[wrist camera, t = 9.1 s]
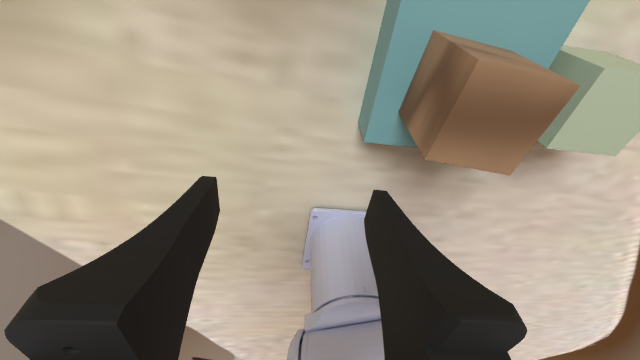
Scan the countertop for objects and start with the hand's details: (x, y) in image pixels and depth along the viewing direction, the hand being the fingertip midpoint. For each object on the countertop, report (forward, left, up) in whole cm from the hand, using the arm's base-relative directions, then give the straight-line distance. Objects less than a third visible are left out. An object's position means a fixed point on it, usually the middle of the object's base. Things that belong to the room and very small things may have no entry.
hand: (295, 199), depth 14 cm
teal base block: (+4, -10, -11) cm, 15 cm away
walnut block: (+4, -9, -7) cm, 12 cm away
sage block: (+4, -18, -11) cm, 21 cm away
